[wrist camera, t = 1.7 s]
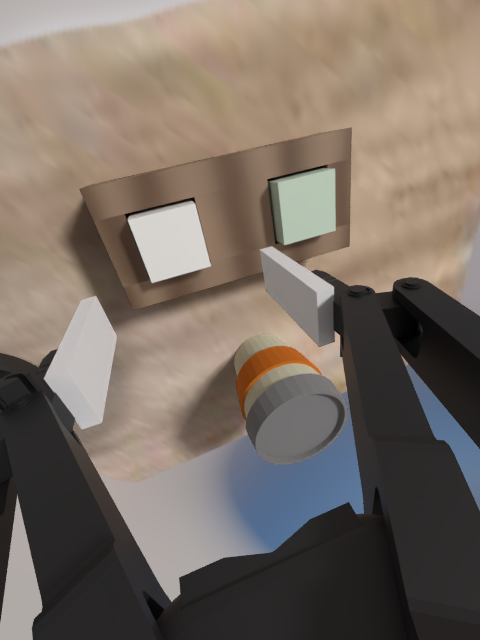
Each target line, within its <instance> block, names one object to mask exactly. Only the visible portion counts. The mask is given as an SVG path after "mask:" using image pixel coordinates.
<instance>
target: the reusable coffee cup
mask: <svg viewBox="0 0 480 640" xmlns="http://www.w3.org/2000/svg"><path fill="white" fill-rule="evenodd" d="M234 367H235V371H236V375H237V380H236V388H237V393H238V397H239V402H240V407H241V411H242V414H243V417H244V418H245V420H246V430H247V433H248V436H249V438H250V439H251V441H252V443H253V445H254V447H255V449H256V451H257V453H258V454H259V455H260V457H261V458H263V459H264V460H265V461H267V462H270V463H272V464H278V465H282V464H283V465H284V464H285V465H286V464H292V463H297V462H300V461H304V460H306V459H308V458H310V457H312V456H314V455H316V454H318V453H320V452H321V451H322V450H324V449H325V448H326V447H328V446H329V445H330V444H331V443H332V442H333V441H334V440H335V439H336V438H337V437H338V436H339V434H340V433H341V431H342V430H343V428H344V426H345V423H346V421H347V416H348V408H347V405H346V402H345V401H344V400H343V398H342V396H341V395H340V393H339V392H338V390H337V389H336V387H335V386H334V384H333V383H332V381H330V380H329V379H328V378H326V377H324V376H322V374H321V372H320V371H319V369H318V368H317V367H316V366H314V365H313V364H312V363H311V362H310V361H309V360H308V359H306V358H305V357H304V356H303V355H302V354H301V353H299V352H298V351H297V350H296V349H293V348H291V347H289V346H287V345H286V344H285V343H284V342H283V341H282V340H281V339H279V338H278V337H276V336H274V335H271V334H261V335H256V336H254V337H251V338H250V339H248V340H246V341H245V342H244V343H243V344H242V345H241V346H240V347H239V349H238V350H237V352H236V354H235V357H234Z"/></svg>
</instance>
